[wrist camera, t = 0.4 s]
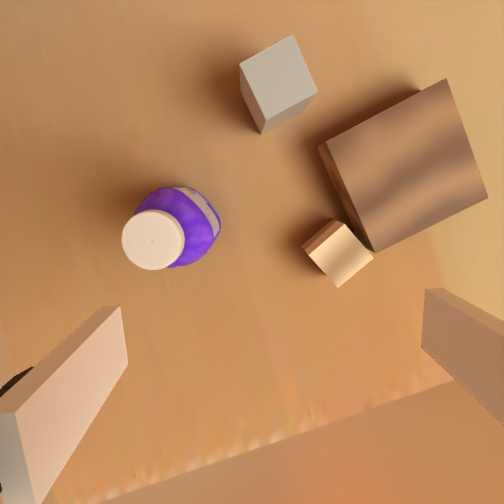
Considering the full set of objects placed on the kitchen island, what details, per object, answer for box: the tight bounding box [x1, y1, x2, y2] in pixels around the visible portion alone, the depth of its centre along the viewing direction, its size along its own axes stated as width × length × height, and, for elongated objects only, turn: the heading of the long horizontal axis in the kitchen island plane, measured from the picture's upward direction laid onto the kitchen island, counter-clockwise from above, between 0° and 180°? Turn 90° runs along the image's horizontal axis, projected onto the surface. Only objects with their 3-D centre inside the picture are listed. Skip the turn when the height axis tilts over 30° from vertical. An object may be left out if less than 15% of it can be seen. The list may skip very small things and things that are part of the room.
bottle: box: [121, 187, 221, 270], centre depth 31 cm, size 7×6×17 cm
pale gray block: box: [239, 34, 318, 135], centre depth 32 cm, size 5×5×9 cm
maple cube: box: [301, 219, 373, 287], centre depth 38 cm, size 5×5×5 cm
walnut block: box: [316, 78, 488, 253], centre depth 37 cm, size 13×13×5 cm
